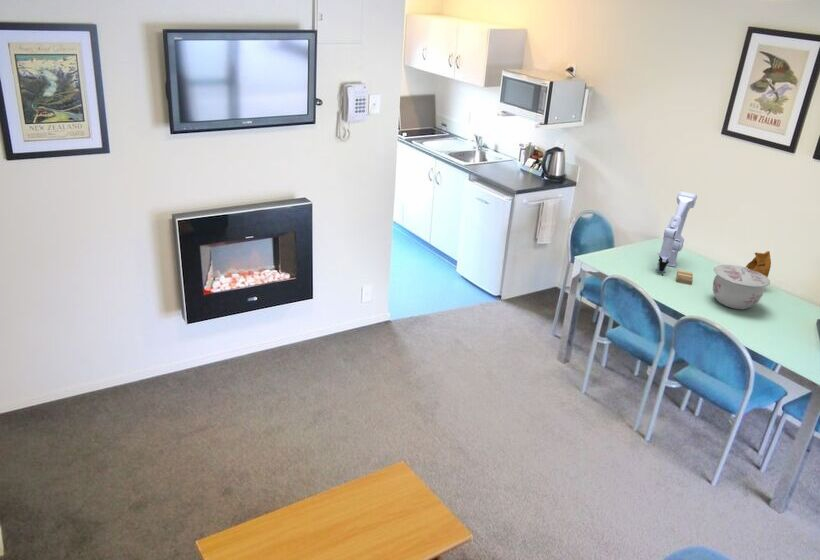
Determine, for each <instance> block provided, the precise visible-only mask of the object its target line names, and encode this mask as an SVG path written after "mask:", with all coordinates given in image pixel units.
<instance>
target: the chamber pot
mask: <svg viewBox="0 0 820 560" xmlns="http://www.w3.org/2000/svg"><path fill="white" fill-rule="evenodd" d="M713 271H714V273H715V276H714V277H713V282H712V292H713V295H714V297H715V300H716V301H717V302H718V303H720V304H722V305H723V306H725V307H728V308H730V309H735V310H748V309H750V308H753V307H754V306H755V305H756V304H758V303H759V302H760V301H761V299H762V297H763V295H764V292H765V287H767V286H769V285H770V284H771V280H770V279H769V277H766V276H765V275H763V274H762V273H759V272H757V271H755V270H752V269H749V268H748V267H746V266H745V267H744V266H740V265H735V264H734V265H732V264H720V265H717V266H715V267H714V268H713Z"/></svg>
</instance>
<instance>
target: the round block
mask: <svg viewBox="0 0 820 560" xmlns="http://www.w3.org/2000/svg"><path fill="white" fill-rule="evenodd" d="M667 268H668V265H666V267H665V269H664V271H663V272H662V271H659V262H658V263H657V265H656V272H657V273H659V274H666V270H667Z"/></svg>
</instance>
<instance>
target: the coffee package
mask: <svg viewBox="0 0 820 560" xmlns="http://www.w3.org/2000/svg"><path fill="white" fill-rule="evenodd" d="M754 255H755V256H754V258H753V259H752V260H751V261H750V262H748V263H747V264H746V265H745V267H748V268H749V269H752V270H755V271H757V272H759V273H762V274H763V275H765V276H766V277H767V278H769V276H770V275H769V274H770V271H771V267H772V266H771V265H772V259H771V252H770V251H769V250H767V251H765V252H764V253H762V252H756V251H755V253H754Z"/></svg>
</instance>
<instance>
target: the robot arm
mask: <svg viewBox="0 0 820 560" xmlns="http://www.w3.org/2000/svg"><path fill="white" fill-rule="evenodd" d="M697 198H698V195H697V194H696V193H691V192H686V191H682V190H680V191H678V193H677V196H676V203H677V206H676V207H677V208H676V211H675V214H674V215H673V216H671V218H670V220H669V224H668V225H667V227H665V228H664V232H663V237H662V239H663V241H662V243H661V248H660V251H659V252H657V256H658V257H659V258H658V263H659V271H662V272H663V271H664V269H665V267H666V265H667V267H672V268H673V267H675V268H676V265H677V264H676V263H677V258H678V255H679V252H681V251H682V249H683V247H684V242H685V239H684V237H683V236H682V232H683V229H684V226H685V222H686V219H687V217H688V213H689V212H690V209H693V208H694V207H695V205H696V201H697ZM667 267H666V268H667Z"/></svg>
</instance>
